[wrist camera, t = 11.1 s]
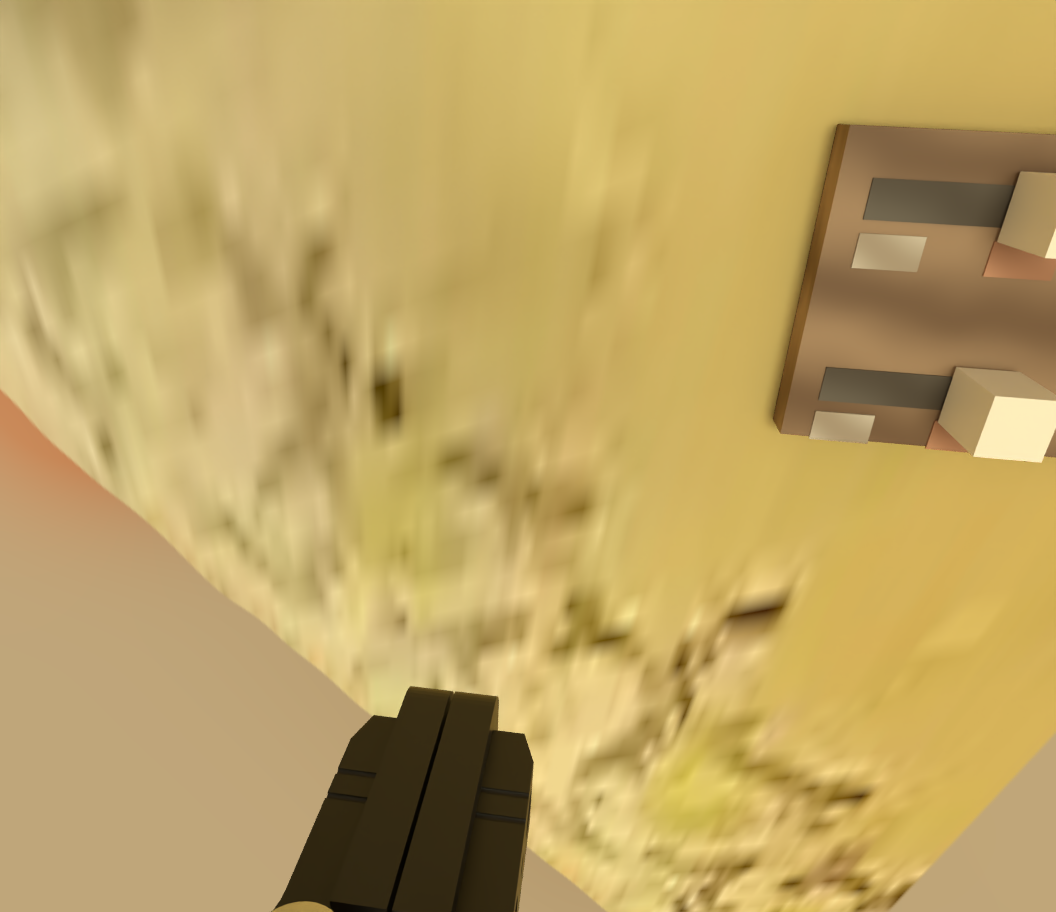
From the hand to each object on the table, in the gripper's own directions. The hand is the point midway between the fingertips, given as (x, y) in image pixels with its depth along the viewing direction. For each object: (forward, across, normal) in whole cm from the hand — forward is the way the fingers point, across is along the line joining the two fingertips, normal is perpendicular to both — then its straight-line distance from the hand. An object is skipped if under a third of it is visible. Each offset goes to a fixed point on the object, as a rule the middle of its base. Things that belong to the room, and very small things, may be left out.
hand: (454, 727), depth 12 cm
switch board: (+29, -21, -2) cm, 36 cm away
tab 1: (+27, -21, +2) cm, 34 cm away
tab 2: (+27, -21, -6) cm, 35 cm away
